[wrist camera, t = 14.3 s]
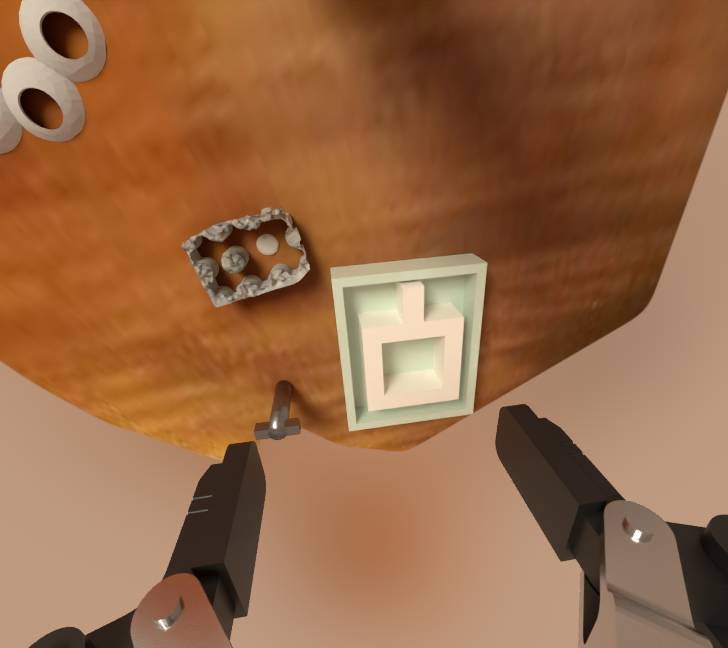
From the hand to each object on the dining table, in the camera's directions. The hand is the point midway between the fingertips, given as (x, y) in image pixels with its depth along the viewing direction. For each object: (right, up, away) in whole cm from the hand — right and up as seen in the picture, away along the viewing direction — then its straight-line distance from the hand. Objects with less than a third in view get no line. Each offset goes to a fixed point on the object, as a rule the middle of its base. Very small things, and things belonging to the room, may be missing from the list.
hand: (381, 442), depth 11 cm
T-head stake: (-11, -4, +32) cm, 34 cm away
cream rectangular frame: (+4, +3, +30) cm, 30 cm away
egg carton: (-12, +12, +25) cm, 30 cm away
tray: (+4, +2, +31) cm, 32 cm away
